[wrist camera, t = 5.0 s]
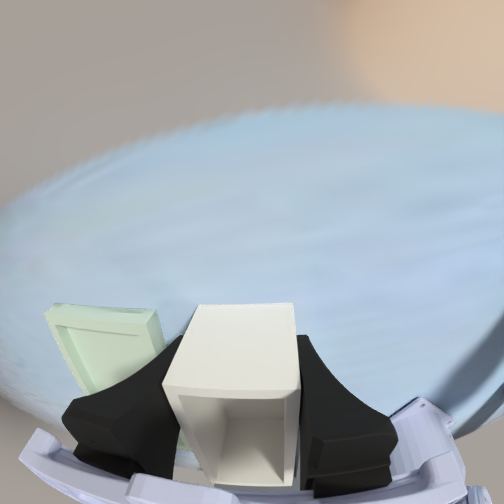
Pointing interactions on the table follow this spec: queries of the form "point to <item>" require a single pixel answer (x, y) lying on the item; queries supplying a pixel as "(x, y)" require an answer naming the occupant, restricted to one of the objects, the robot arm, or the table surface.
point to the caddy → (239, 392)
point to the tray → (106, 344)
